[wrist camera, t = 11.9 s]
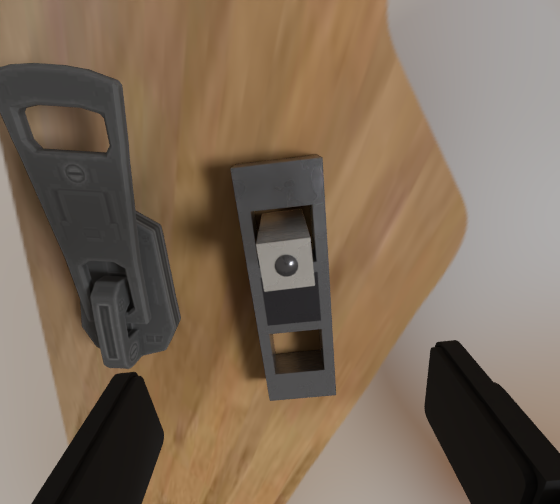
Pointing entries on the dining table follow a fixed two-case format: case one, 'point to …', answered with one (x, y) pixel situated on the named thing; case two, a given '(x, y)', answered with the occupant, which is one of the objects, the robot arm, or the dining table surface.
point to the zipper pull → (96, 213)
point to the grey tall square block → (285, 251)
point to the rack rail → (297, 301)
